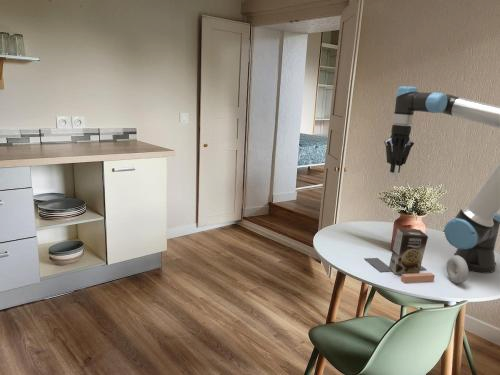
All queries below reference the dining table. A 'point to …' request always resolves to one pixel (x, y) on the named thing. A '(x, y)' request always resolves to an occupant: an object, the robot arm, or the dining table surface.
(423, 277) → the tan rectangular bar
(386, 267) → the pads
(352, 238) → the dining table surface
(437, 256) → the dining table surface
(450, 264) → the donut
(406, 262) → the coffee box
